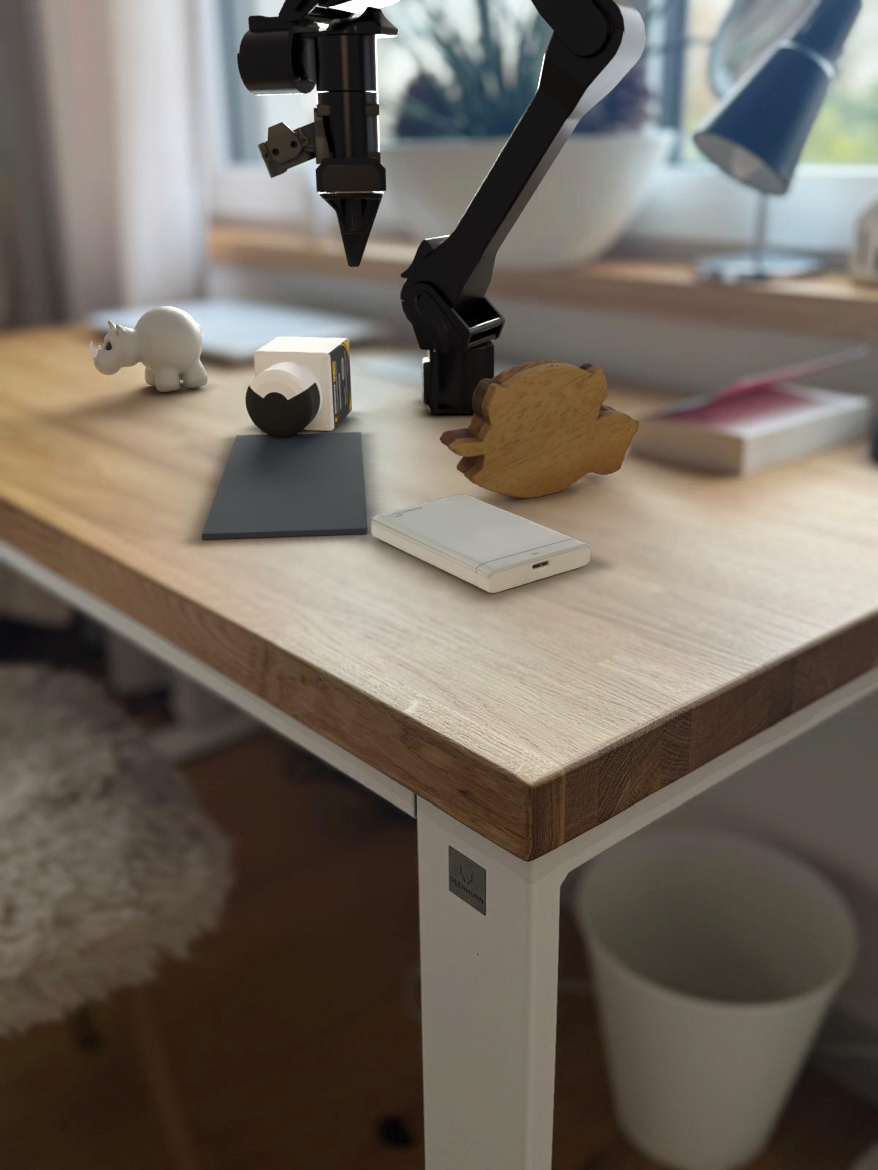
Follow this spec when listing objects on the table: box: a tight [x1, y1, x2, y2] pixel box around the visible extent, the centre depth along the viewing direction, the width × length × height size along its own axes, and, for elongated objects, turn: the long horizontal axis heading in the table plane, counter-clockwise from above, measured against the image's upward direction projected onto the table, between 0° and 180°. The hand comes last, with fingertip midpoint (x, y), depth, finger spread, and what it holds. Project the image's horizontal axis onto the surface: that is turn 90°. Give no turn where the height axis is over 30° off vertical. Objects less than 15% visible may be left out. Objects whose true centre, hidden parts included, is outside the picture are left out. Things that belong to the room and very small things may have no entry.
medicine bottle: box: [244, 336, 353, 438], centre depth 98 cm, size 7×7×12 cm
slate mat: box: [201, 431, 368, 540], centre depth 84 cm, size 11×26×1 cm, turn 5°
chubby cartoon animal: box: [88, 305, 208, 393], centre depth 114 cm, size 7×12×8 cm, turn 121°
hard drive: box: [370, 493, 591, 594], centre depth 69 cm, size 2×8×12 cm
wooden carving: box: [439, 358, 640, 499], centre depth 79 cm, size 16×5×10 cm, turn 123°
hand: (353, 266), depth 107 cm, fingers closed
